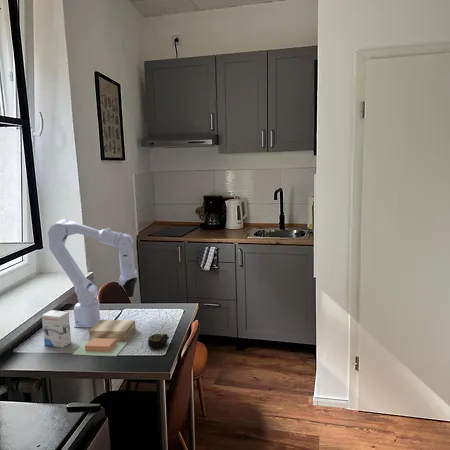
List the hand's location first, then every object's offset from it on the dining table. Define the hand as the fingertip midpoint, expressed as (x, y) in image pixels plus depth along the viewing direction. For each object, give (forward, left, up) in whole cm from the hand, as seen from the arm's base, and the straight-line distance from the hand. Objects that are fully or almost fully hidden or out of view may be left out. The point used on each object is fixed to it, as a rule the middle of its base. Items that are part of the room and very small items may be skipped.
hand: (130, 296), depth 169 cm
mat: (-2, -25, -10) cm, 27 cm away
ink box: (-20, -22, -11) cm, 32 cm away
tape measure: (+19, -22, -11) cm, 31 cm away
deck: (-2, -14, -10) cm, 18 cm away
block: (-2, -25, -8) cm, 26 cm away
